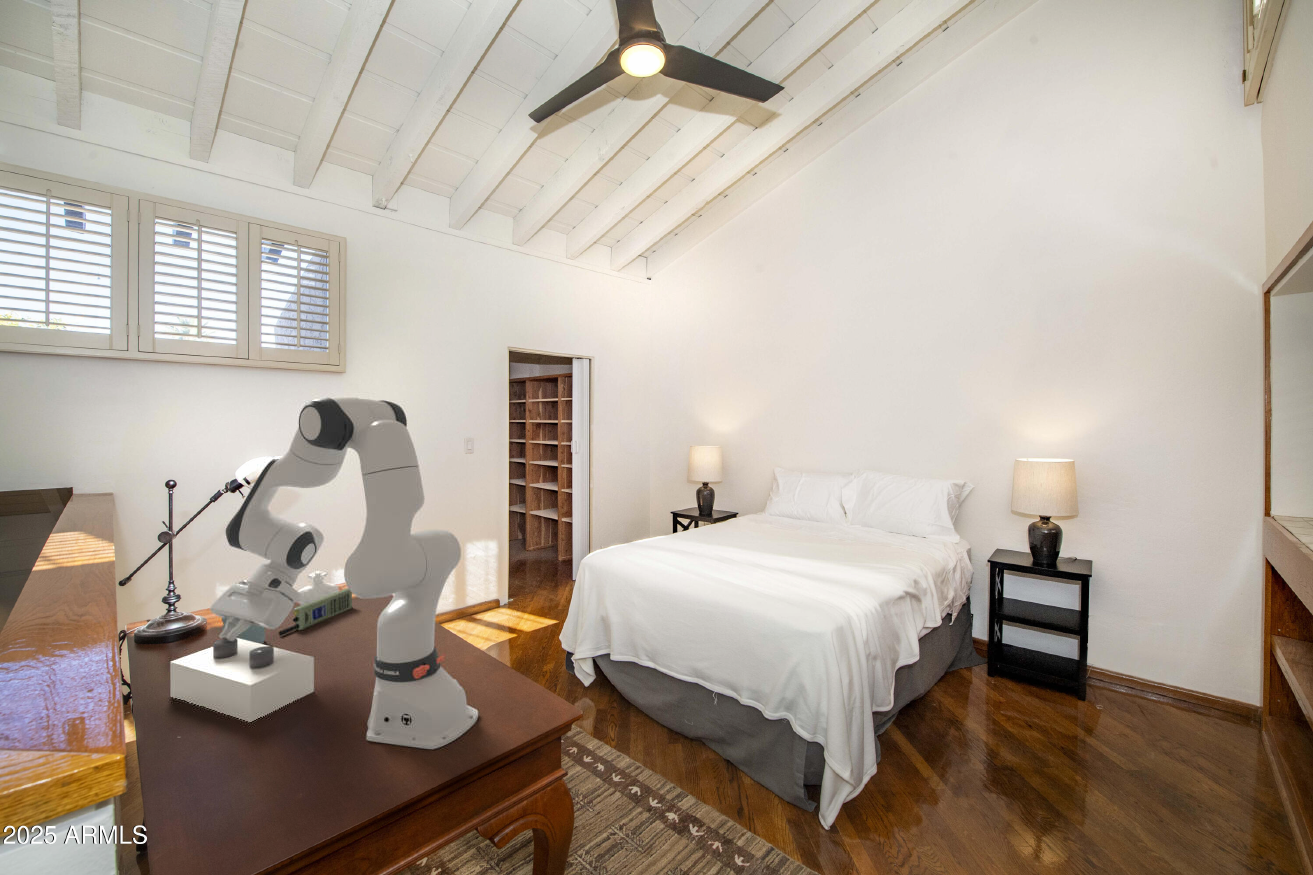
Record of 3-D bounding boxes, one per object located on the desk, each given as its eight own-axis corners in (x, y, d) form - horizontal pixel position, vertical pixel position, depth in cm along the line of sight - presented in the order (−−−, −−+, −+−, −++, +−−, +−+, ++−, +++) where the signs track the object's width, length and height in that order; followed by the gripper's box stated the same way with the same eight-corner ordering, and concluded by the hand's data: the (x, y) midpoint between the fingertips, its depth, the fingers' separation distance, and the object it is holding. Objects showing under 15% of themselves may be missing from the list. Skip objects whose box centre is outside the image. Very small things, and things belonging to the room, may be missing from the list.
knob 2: (278, 677, 123) (278, 648, 122) (258, 686, 119) (258, 656, 118) (264, 674, 124) (264, 644, 124) (244, 682, 120) (244, 652, 120)
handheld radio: (354, 608, 178) (285, 638, 154) (345, 607, 179) (275, 637, 155) (353, 588, 178) (284, 615, 154) (345, 587, 179) (275, 614, 155)
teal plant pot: (276, 638, 153) (276, 596, 152) (245, 654, 143) (245, 609, 142) (243, 636, 154) (242, 594, 154) (210, 651, 144) (210, 606, 143)
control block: (313, 691, 126) (313, 657, 125) (250, 722, 113) (250, 684, 112) (237, 669, 135) (237, 637, 134) (170, 696, 122) (170, 661, 121)
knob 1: (242, 668, 127) (242, 639, 127) (221, 676, 123) (221, 647, 122) (229, 664, 128) (229, 636, 128) (208, 673, 124) (208, 643, 124)
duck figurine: (338, 605, 186) (335, 574, 191) (341, 597, 181) (338, 565, 186) (296, 612, 178) (294, 580, 183) (298, 604, 173) (296, 571, 178)
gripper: (230, 572, 135) (185, 625, 127) (289, 584, 129) (245, 640, 120) (249, 585, 140) (206, 637, 131) (306, 597, 133) (265, 652, 124)
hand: (225, 639), depth 125 cm, fingers closed, pressing on knob 1
